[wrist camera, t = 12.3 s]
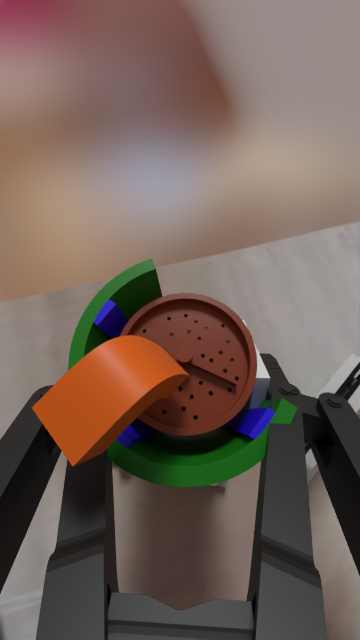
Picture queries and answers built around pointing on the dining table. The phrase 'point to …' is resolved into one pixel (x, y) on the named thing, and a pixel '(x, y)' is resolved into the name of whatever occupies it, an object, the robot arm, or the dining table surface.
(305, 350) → the dining table surface
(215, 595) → the dining table surface
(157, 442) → the motor
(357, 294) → the dining table surface
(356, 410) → the grey arched block
